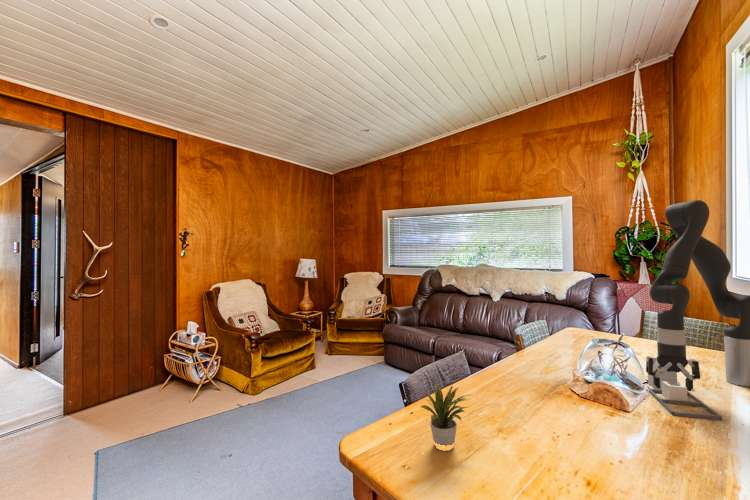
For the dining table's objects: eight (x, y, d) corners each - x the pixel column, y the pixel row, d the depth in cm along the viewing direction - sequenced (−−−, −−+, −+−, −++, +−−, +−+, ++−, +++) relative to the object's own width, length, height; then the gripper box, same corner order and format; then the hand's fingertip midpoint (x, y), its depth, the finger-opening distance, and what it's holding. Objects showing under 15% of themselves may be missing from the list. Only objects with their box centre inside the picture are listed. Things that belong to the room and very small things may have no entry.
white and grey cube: (662, 395, 123) (661, 380, 123) (679, 396, 122) (678, 381, 122) (669, 401, 118) (669, 385, 119) (687, 402, 117) (686, 386, 117)
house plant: (461, 470, 83) (458, 401, 84) (409, 455, 91) (407, 391, 91) (478, 443, 95) (475, 382, 96) (430, 431, 103) (428, 375, 103)
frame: (637, 381, 137) (637, 379, 137) (676, 384, 132) (675, 382, 132) (672, 414, 108) (671, 411, 108) (721, 420, 104) (721, 416, 104)
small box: (678, 392, 125) (676, 363, 125) (660, 392, 126) (659, 362, 126) (664, 384, 133) (663, 356, 133) (647, 384, 134) (646, 356, 134)
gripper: (691, 340, 122) (693, 387, 121) (642, 337, 127) (643, 383, 126) (702, 345, 115) (704, 395, 114) (650, 342, 120) (651, 390, 119)
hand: (672, 389), depth 120 cm, fingers open, 8 cm apart
